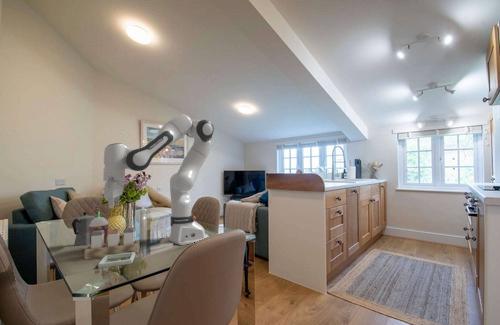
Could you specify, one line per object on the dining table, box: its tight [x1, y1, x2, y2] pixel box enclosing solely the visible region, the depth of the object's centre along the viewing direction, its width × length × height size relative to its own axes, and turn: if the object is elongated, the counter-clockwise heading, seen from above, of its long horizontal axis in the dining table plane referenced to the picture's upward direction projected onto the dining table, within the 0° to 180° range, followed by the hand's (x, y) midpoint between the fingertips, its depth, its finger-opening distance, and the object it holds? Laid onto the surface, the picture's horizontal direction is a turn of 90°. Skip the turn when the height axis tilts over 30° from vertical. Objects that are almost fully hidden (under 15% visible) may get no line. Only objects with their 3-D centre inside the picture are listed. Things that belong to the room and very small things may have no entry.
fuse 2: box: [123, 226, 136, 245], centre depth 109 cm, size 4×4×11 cm
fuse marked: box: [107, 228, 121, 247], centre depth 107 cm, size 4×4×11 cm
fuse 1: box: [91, 230, 104, 249], centre depth 105 cm, size 4×4×11 cm
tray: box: [97, 252, 136, 269], centre depth 97 cm, size 12×10×3 cm
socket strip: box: [84, 240, 140, 261], centre depth 107 cm, size 21×7×6 cm, turn 109°
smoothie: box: [89, 210, 109, 246], centre depth 114 cm, size 8×8×20 cm
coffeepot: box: [71, 211, 96, 247], centre depth 124 cm, size 15×9×18 cm, turn 1°
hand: (113, 206), depth 107 cm, fingers open, 8 cm apart
